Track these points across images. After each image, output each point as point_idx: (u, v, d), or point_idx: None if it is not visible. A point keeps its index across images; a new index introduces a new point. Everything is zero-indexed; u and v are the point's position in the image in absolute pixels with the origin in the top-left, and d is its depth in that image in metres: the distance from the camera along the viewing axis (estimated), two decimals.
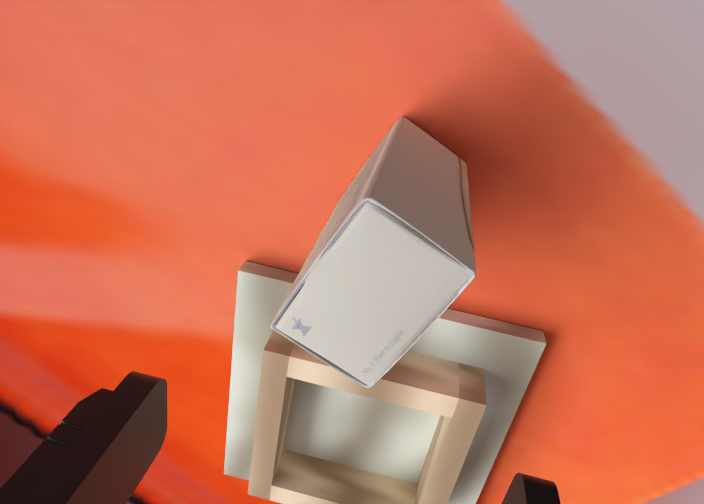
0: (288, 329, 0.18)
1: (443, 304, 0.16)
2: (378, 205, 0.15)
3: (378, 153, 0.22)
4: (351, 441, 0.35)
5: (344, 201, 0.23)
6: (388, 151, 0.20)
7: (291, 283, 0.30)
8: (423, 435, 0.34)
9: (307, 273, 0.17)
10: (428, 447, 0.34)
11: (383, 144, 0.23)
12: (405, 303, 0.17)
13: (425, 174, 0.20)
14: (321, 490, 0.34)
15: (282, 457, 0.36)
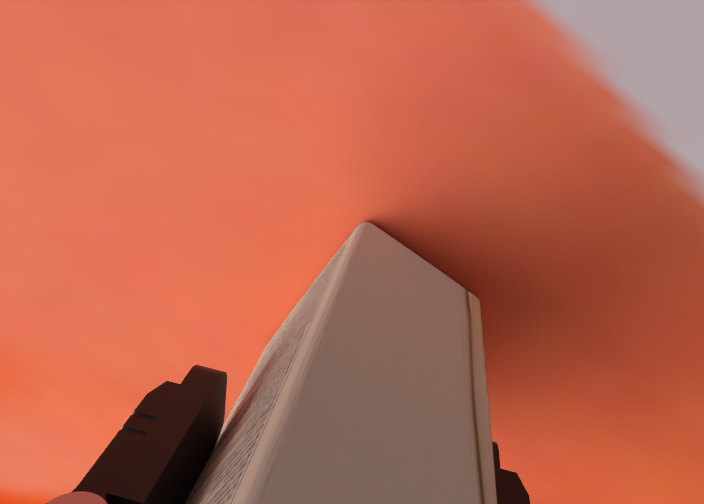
0: None
1: None
2: None
3: (304, 330, 0.11)
4: None
5: (239, 420, 0.11)
6: (308, 370, 0.09)
7: None
8: None
9: None
10: None
11: (320, 298, 0.12)
12: None
13: (393, 414, 0.09)
14: None
15: None
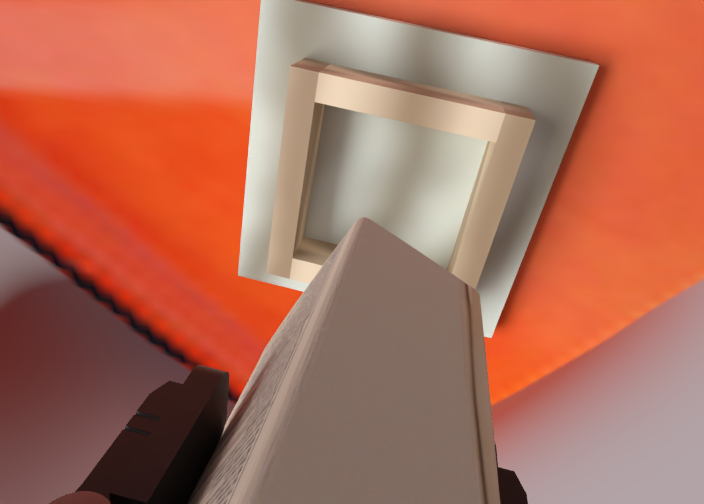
0: None
1: None
2: None
3: (303, 326, 0.11)
4: (378, 219, 0.33)
5: (240, 417, 0.11)
6: (306, 365, 0.09)
7: (320, 6, 0.27)
8: (457, 204, 0.31)
9: None
10: (461, 220, 0.32)
11: (319, 293, 0.12)
12: None
13: (393, 408, 0.09)
14: None
15: (302, 241, 0.33)
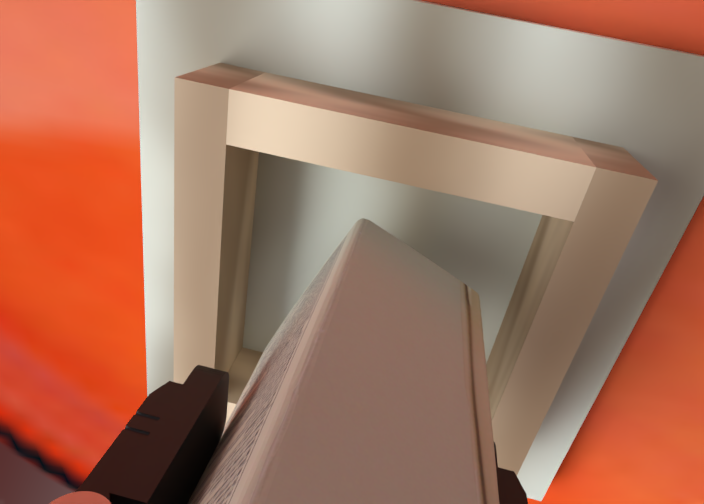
0: None
1: None
2: None
3: (303, 327, 0.11)
4: None
5: (240, 418, 0.11)
6: (306, 366, 0.09)
7: None
8: (489, 306, 0.18)
9: None
10: (497, 331, 0.19)
11: (318, 295, 0.12)
12: None
13: (393, 409, 0.09)
14: None
15: (238, 358, 0.21)
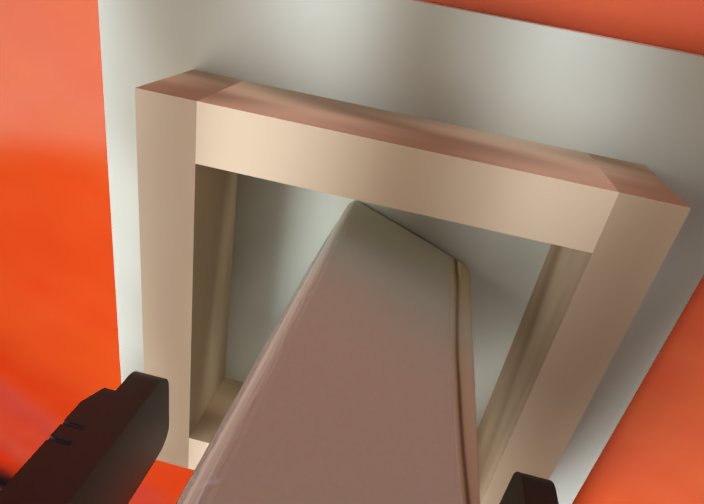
0: None
1: None
2: None
3: (294, 297, 0.12)
4: None
5: None
6: (292, 323, 0.09)
7: None
8: (493, 337, 0.17)
9: None
10: (502, 364, 0.17)
11: (310, 269, 0.13)
12: None
13: (374, 360, 0.10)
14: None
15: (219, 390, 0.19)
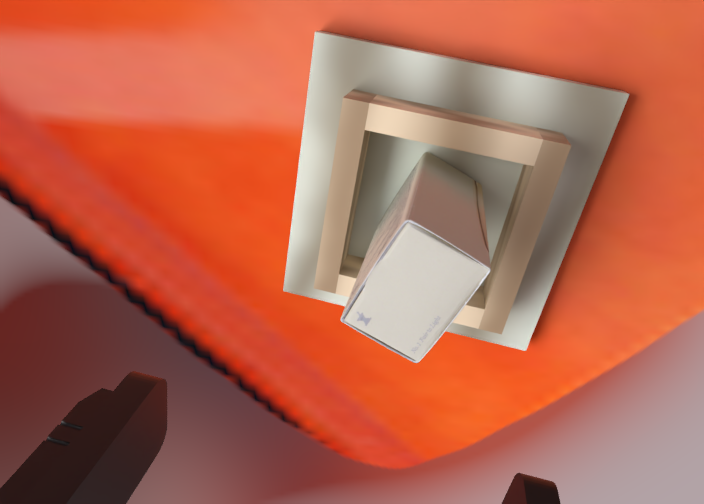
0: (354, 321, 0.24)
1: (469, 294, 0.22)
2: (415, 224, 0.21)
3: (410, 184, 0.28)
4: None
5: (386, 223, 0.29)
6: (418, 182, 0.26)
7: (368, 43, 0.30)
8: (494, 223, 0.33)
9: (366, 277, 0.23)
10: (498, 238, 0.34)
11: (413, 176, 0.29)
12: (440, 295, 0.22)
13: (448, 198, 0.26)
14: None
15: (346, 258, 0.35)
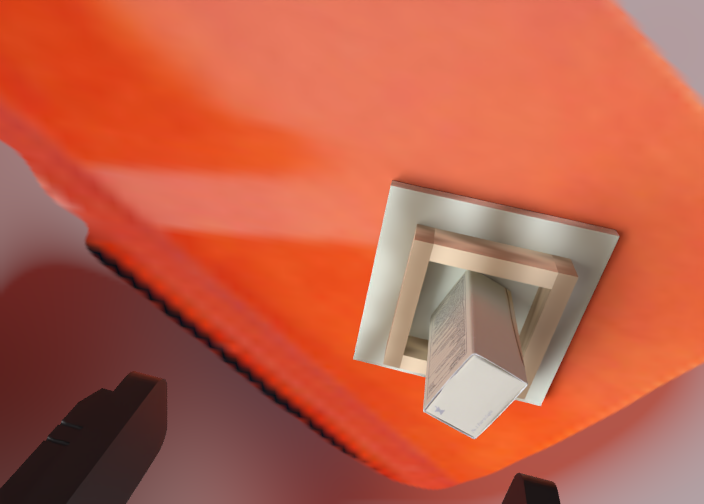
0: (432, 411, 0.35)
1: (512, 397, 0.34)
2: (479, 356, 0.33)
3: (463, 302, 0.39)
4: None
5: (445, 329, 0.40)
6: (472, 309, 0.37)
7: (430, 194, 0.41)
8: (519, 316, 0.45)
9: (443, 386, 0.34)
10: (522, 327, 0.45)
11: (464, 293, 0.40)
12: (493, 398, 0.34)
13: (492, 319, 0.38)
14: None
15: None
